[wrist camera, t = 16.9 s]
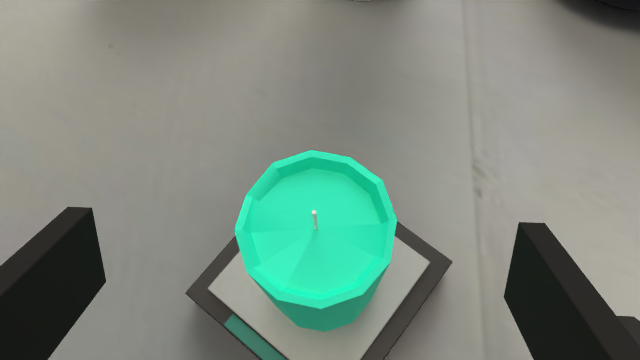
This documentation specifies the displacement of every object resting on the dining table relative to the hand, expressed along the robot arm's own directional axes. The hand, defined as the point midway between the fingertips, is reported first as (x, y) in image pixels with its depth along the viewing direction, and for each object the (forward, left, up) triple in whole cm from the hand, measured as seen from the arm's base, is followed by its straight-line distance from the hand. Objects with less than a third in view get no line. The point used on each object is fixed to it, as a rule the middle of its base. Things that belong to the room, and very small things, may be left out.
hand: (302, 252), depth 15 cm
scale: (+1, +1, -16) cm, 16 cm away
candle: (+1, +1, -13) cm, 13 cm away
